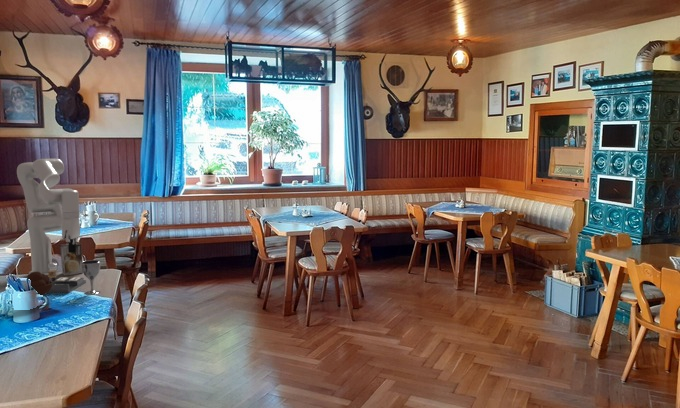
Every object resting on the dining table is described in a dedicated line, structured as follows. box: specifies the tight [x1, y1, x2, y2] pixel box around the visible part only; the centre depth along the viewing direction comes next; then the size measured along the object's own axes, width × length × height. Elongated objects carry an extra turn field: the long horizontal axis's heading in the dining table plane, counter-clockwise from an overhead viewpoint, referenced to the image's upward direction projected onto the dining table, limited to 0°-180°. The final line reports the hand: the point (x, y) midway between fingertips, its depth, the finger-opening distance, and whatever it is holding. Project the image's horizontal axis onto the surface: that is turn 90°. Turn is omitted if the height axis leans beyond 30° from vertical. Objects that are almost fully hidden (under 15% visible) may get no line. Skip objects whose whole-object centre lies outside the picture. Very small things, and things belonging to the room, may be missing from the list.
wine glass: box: [82, 259, 101, 296], centre depth 246 cm, size 8×8×15 cm
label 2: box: [69, 277, 81, 281], centre depth 258 cm, size 5×4×1 cm
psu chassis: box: [47, 276, 87, 294], centre depth 254 cm, size 19×15×8 cm
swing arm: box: [47, 262, 59, 279], centre depth 250 cm, size 18×4×3 cm, turn 28°
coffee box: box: [59, 242, 84, 277], centre depth 281 cm, size 9×6×16 cm
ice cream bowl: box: [26, 272, 53, 296], centre depth 228 cm, size 11×11×15 cm
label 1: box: [56, 277, 69, 281], centre depth 258 cm, size 5×4×1 cm
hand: (72, 252), depth 256 cm, fingers closed
